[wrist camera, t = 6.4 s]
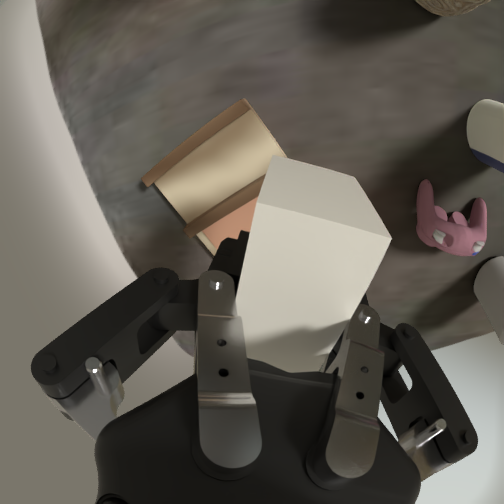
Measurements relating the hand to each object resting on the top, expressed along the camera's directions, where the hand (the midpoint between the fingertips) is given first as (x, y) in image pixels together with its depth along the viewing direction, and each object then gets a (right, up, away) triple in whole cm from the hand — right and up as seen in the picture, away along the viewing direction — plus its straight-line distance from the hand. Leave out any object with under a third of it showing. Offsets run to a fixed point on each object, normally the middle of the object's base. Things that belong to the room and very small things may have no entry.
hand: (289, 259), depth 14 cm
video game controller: (+20, +5, +13) cm, 24 cm away
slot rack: (-3, +6, +16) cm, 17 cm away
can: (+32, -3, +16) cm, 36 cm away
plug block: (0, +1, +1) cm, 1 cm away
